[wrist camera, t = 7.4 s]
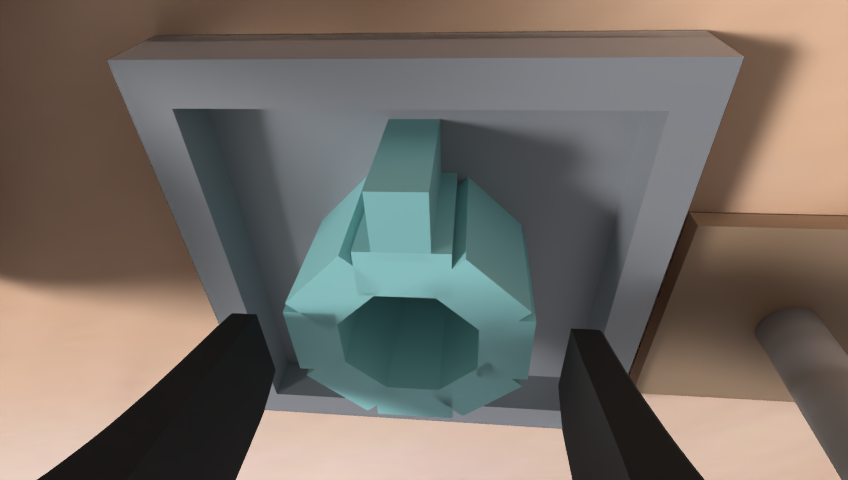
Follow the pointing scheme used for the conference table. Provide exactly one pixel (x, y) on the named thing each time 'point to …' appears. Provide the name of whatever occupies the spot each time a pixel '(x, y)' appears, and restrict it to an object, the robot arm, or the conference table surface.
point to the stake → (756, 318)
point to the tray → (460, 153)
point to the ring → (415, 288)
